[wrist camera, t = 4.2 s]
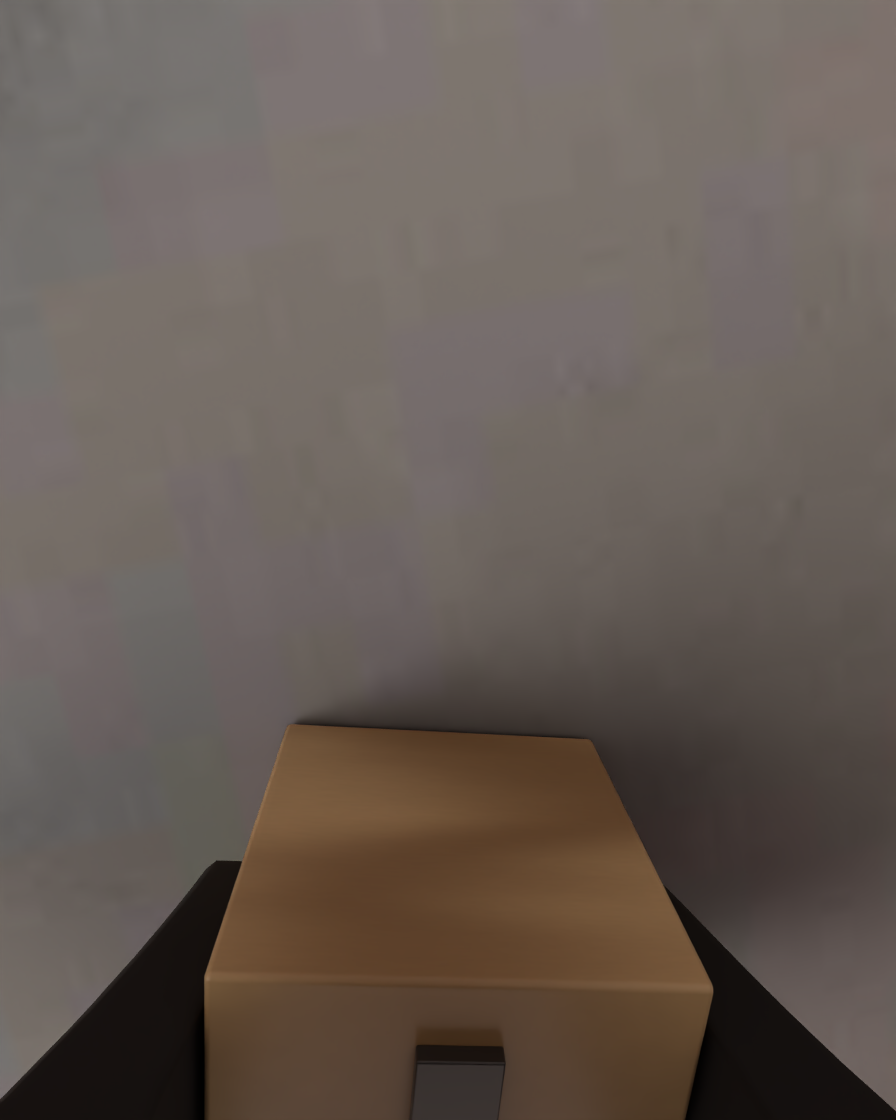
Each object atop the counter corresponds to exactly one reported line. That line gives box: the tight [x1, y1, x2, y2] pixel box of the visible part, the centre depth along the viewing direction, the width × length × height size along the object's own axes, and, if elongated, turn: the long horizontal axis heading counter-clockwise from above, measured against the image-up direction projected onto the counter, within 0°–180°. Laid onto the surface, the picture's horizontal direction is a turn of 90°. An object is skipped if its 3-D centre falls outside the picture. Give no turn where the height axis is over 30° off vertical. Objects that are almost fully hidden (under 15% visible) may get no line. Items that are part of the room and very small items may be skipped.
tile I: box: [204, 724, 713, 1120], centre depth 8 cm, size 4×4×4 cm
